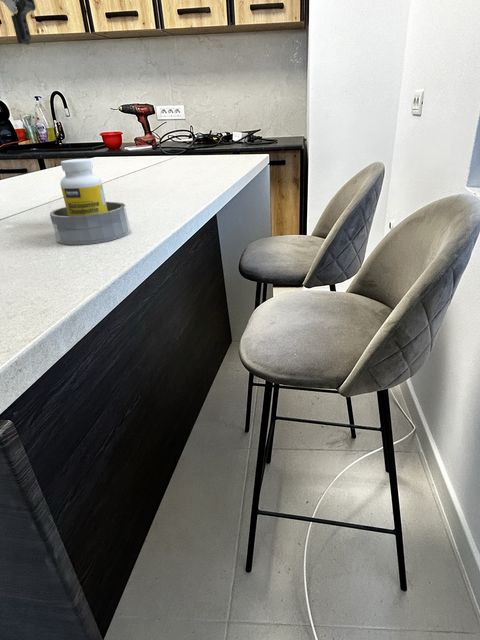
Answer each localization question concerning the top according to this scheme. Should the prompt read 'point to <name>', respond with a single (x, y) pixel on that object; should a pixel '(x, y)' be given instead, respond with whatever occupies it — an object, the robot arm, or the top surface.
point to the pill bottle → (82, 188)
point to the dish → (91, 225)
